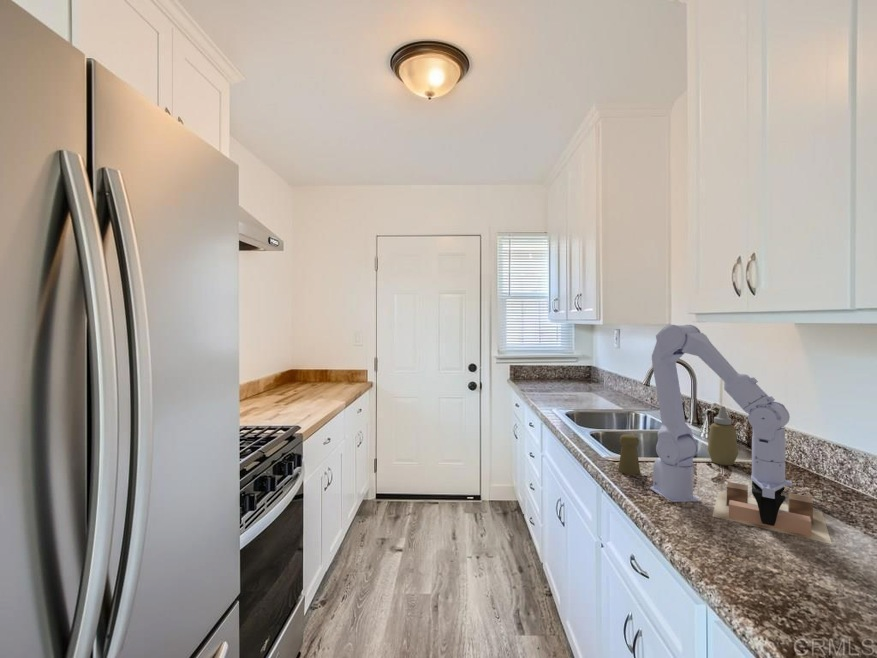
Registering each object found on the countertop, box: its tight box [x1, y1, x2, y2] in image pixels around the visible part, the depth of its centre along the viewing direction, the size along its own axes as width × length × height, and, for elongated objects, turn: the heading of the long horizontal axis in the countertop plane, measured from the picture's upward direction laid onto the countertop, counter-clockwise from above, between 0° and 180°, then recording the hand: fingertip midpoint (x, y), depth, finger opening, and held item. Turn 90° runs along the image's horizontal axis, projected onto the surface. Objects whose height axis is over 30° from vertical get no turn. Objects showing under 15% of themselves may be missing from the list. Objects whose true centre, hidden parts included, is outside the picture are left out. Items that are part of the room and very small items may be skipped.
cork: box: [617, 433, 641, 476], centre depth 127 cm, size 6×6×11 cm
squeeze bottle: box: [707, 406, 739, 466], centre depth 134 cm, size 8×8×18 cm
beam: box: [729, 500, 811, 536], centre depth 92 cm, size 14×3×3 cm, turn 52°
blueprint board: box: [712, 481, 833, 545], centre depth 97 cm, size 20×18×5 cm
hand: (767, 520), depth 92 cm, fingers open, 4 cm apart
